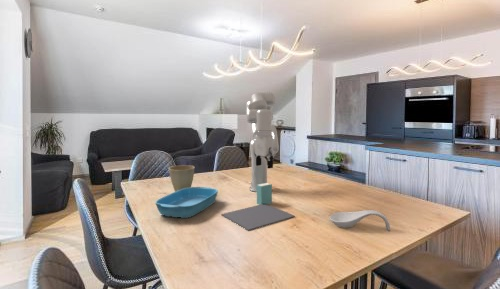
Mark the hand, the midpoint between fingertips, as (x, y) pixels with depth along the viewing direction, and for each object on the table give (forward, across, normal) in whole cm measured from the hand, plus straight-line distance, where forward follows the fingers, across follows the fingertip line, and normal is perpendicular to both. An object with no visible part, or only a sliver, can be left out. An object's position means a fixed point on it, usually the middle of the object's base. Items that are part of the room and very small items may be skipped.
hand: (264, 166), depth 149 cm
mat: (+20, +13, -14) cm, 27 cm away
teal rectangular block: (+20, 0, 0) cm, 20 cm away
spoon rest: (+20, +47, +13) cm, 53 cm away
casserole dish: (+20, -17, -35) cm, 44 cm away
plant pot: (+20, -43, -28) cm, 55 cm away
